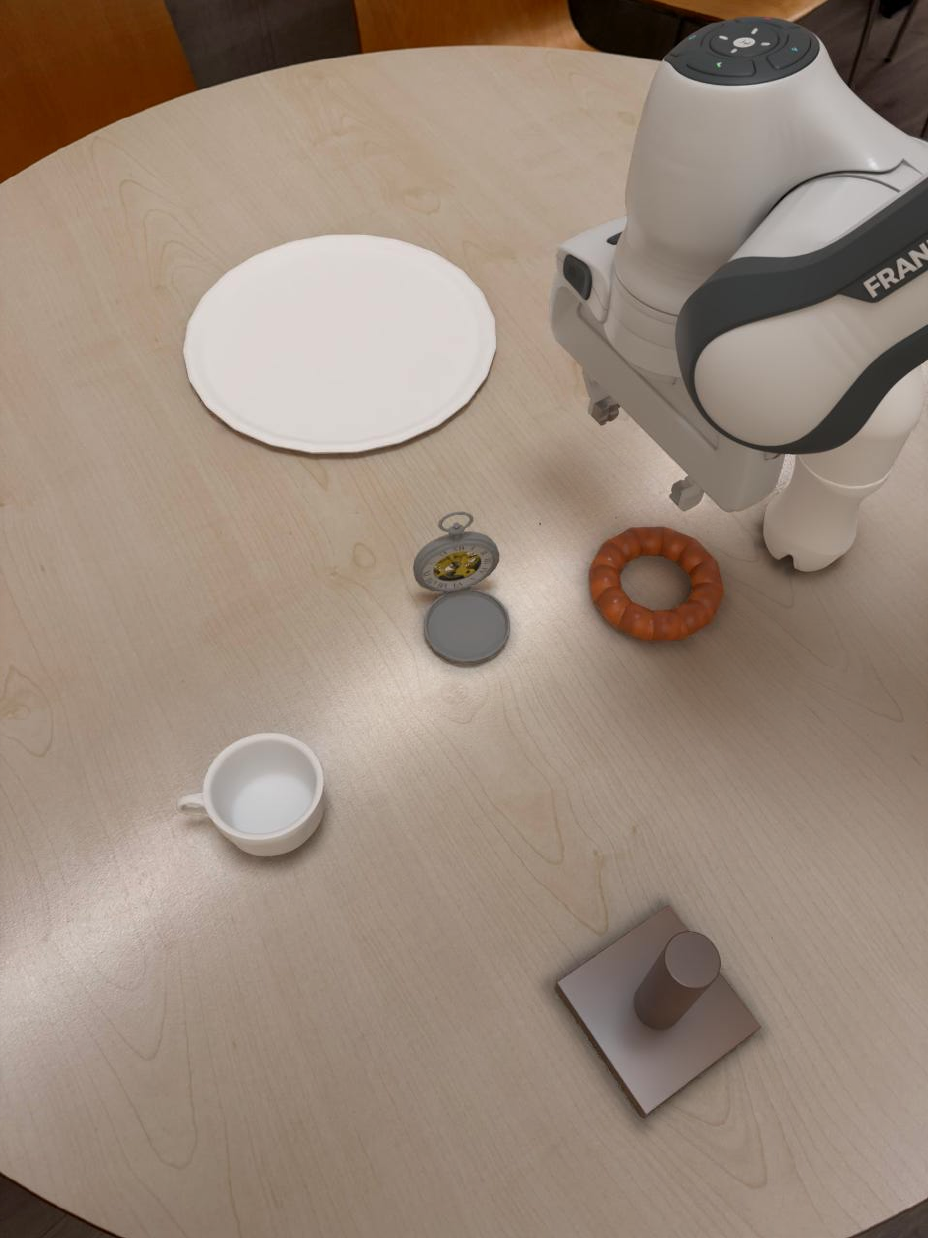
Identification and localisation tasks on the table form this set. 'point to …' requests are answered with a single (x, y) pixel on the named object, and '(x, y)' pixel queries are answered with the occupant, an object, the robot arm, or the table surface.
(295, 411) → the plate
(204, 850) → the table surface
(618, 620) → the orange beaded ring
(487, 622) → the pocket watch
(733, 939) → the table surface
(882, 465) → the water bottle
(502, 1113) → the table surface
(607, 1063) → the stand
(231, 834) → the teacup
